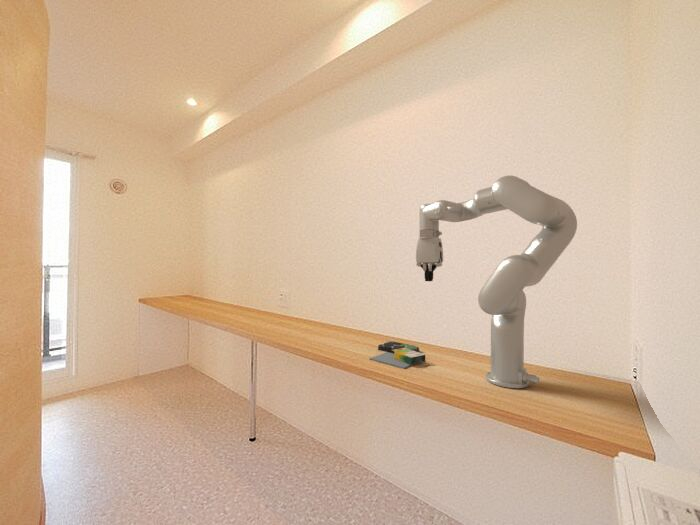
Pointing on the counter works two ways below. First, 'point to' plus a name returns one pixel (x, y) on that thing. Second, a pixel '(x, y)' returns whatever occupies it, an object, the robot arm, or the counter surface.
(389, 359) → the slate pad
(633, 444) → the counter surface
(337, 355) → the counter surface
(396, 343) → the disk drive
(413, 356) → the crayon box
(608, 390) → the counter surface
